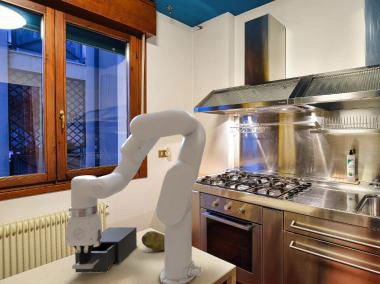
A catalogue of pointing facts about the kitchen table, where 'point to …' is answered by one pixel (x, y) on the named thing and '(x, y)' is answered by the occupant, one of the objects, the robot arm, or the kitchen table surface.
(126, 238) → the dark gray cabinet
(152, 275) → the kitchen table surface
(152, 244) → the potato
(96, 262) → the handled dark box
